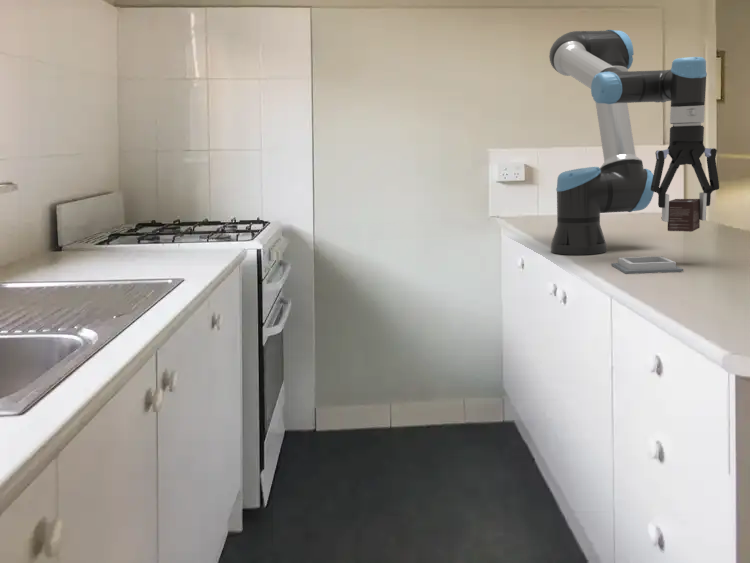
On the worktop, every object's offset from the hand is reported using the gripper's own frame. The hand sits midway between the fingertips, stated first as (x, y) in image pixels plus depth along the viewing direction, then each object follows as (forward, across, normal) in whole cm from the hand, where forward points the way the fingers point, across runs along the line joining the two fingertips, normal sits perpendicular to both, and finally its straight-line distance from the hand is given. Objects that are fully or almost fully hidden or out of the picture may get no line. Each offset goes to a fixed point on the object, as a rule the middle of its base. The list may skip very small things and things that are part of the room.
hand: (683, 220), depth 186 cm
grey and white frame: (+11, -10, -6) cm, 16 cm away
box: (+3, 0, 0) cm, 3 cm away
